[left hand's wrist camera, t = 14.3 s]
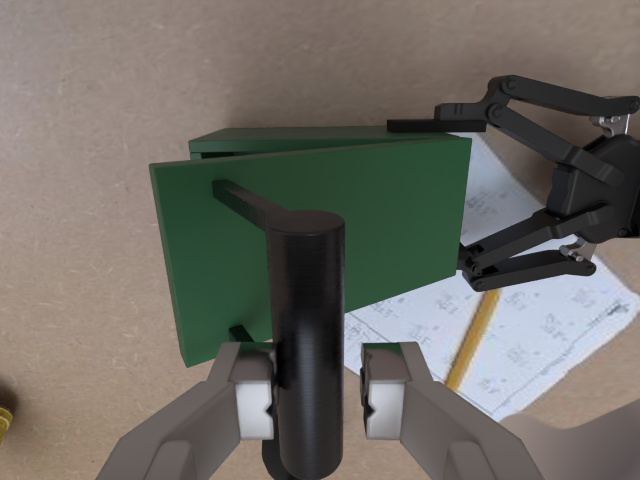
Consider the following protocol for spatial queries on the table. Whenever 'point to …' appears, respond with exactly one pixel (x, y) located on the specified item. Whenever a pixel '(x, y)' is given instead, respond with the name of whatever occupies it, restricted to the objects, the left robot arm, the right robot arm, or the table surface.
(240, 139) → the chest
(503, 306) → the table surface
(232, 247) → the lid
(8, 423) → the shrine
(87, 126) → the table surface
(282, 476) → the bomb
